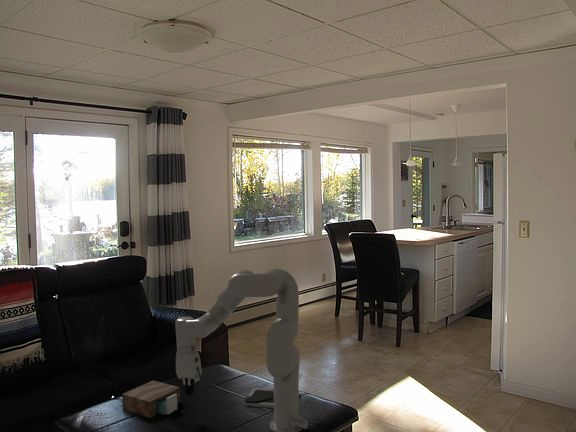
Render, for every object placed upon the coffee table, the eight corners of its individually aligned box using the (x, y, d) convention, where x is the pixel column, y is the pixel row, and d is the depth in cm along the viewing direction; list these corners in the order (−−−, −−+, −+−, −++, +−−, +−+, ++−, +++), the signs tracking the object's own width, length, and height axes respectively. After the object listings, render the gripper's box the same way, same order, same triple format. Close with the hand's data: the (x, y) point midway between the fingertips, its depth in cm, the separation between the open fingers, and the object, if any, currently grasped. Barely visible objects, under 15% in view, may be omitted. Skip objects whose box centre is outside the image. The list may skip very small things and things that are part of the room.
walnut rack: (180, 402, 209) (179, 387, 208) (150, 418, 194) (149, 401, 194) (153, 394, 217) (153, 380, 217) (122, 409, 202) (122, 393, 202)
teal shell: (178, 408, 202) (178, 393, 202) (166, 415, 196) (166, 399, 196) (153, 401, 210) (152, 386, 210) (140, 407, 204) (140, 392, 204)
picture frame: (243, 407, 204) (292, 411, 200) (243, 400, 204) (292, 404, 200) (253, 392, 220) (299, 395, 216) (253, 386, 220) (298, 389, 216)
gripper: (207, 347, 193) (210, 393, 194) (179, 344, 201) (182, 388, 202) (194, 353, 187) (197, 400, 187) (166, 349, 195) (169, 394, 195)
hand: (189, 394), depth 194 cm, fingers closed
